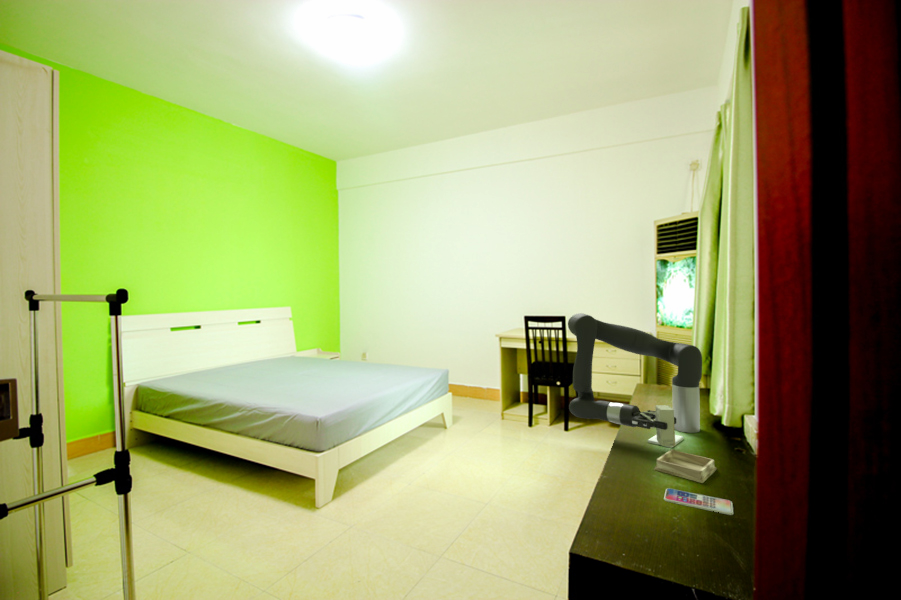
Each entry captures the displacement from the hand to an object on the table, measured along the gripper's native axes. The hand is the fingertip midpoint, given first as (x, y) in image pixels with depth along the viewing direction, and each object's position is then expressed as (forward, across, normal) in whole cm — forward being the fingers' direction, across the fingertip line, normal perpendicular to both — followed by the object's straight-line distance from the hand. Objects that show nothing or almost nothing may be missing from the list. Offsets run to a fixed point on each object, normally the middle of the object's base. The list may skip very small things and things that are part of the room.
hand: (671, 423), depth 140 cm
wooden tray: (+8, -11, +10) cm, 17 cm away
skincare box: (-2, 0, +7) cm, 8 cm away
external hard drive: (-6, +11, +11) cm, 17 cm away
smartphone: (+17, -30, +10) cm, 36 cm away
